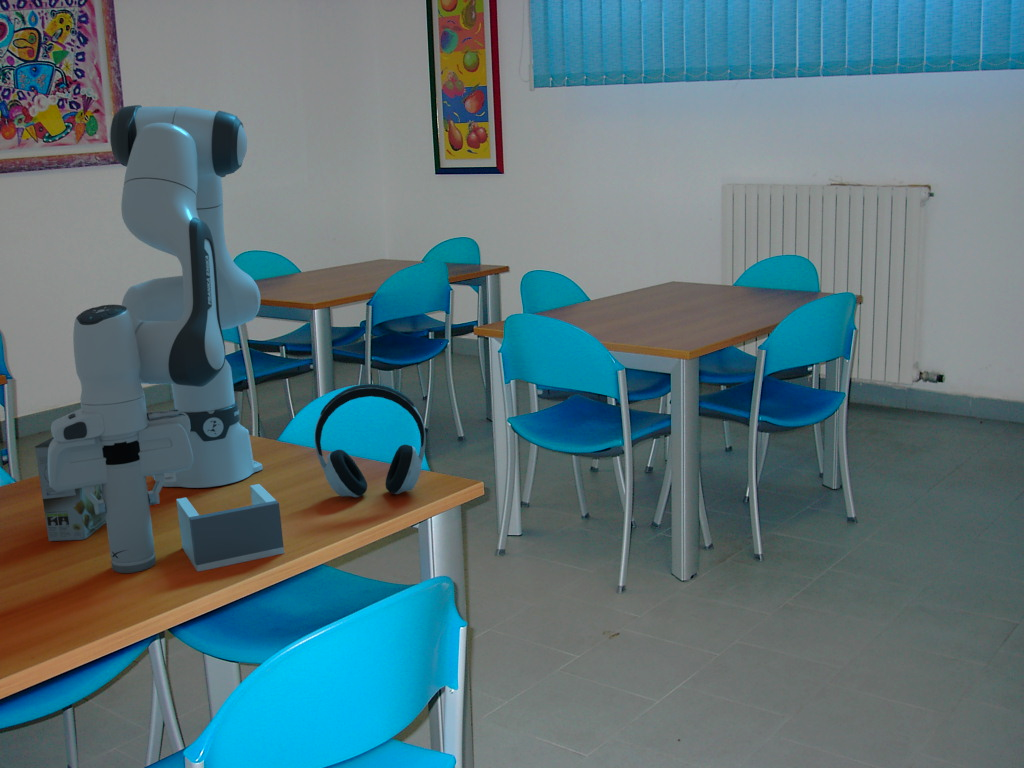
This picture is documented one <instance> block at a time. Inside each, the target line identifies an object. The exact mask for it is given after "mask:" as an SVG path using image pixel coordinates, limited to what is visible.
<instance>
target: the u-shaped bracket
mask: <svg viewBox="0 0 1024 768" xmlns="http://www.w3.org/2000/svg"><path fill="white" fill-rule="evenodd" d="M249 487H250V498H251V505H246V506H241V507H236V508H231V509H226V510H221V511H215V512H214V511H213V512H211V513H205V514H201V515H200V514H199V513H198V511H197V510H196V509H195V507H194V506H193V504H192V503H191V502H190V500H189V499H188V498H187V497H182V498H176V507H177V515H178V522H179V531H180V538H181V539H180V540H181V546H182V549H183V551H184V552H185V554H186V556H187V558H188V559H189V561H190V562H191V564H192V565H193V567H194V568H195V570H196V571H197V572H202V571H203V572H204V571H207V570H212V569H217V568H223V567H227V566H232V565H235V564H240V563H245V562H249V561H254V560H259V559H263V558H269V557H273V556H277V555H282V554H285V547H284V538H283V536H284V535H283V529H282V520H281V519H282V517H281V511H280V502H278V500H276V498H275V497H273V496H272V494H270V493H269V491H267V490H266V489H265V488H264V487H263V486H262V485H261V484H260V483H257V484H252V485H249ZM197 572H196V573H197Z"/></svg>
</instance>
